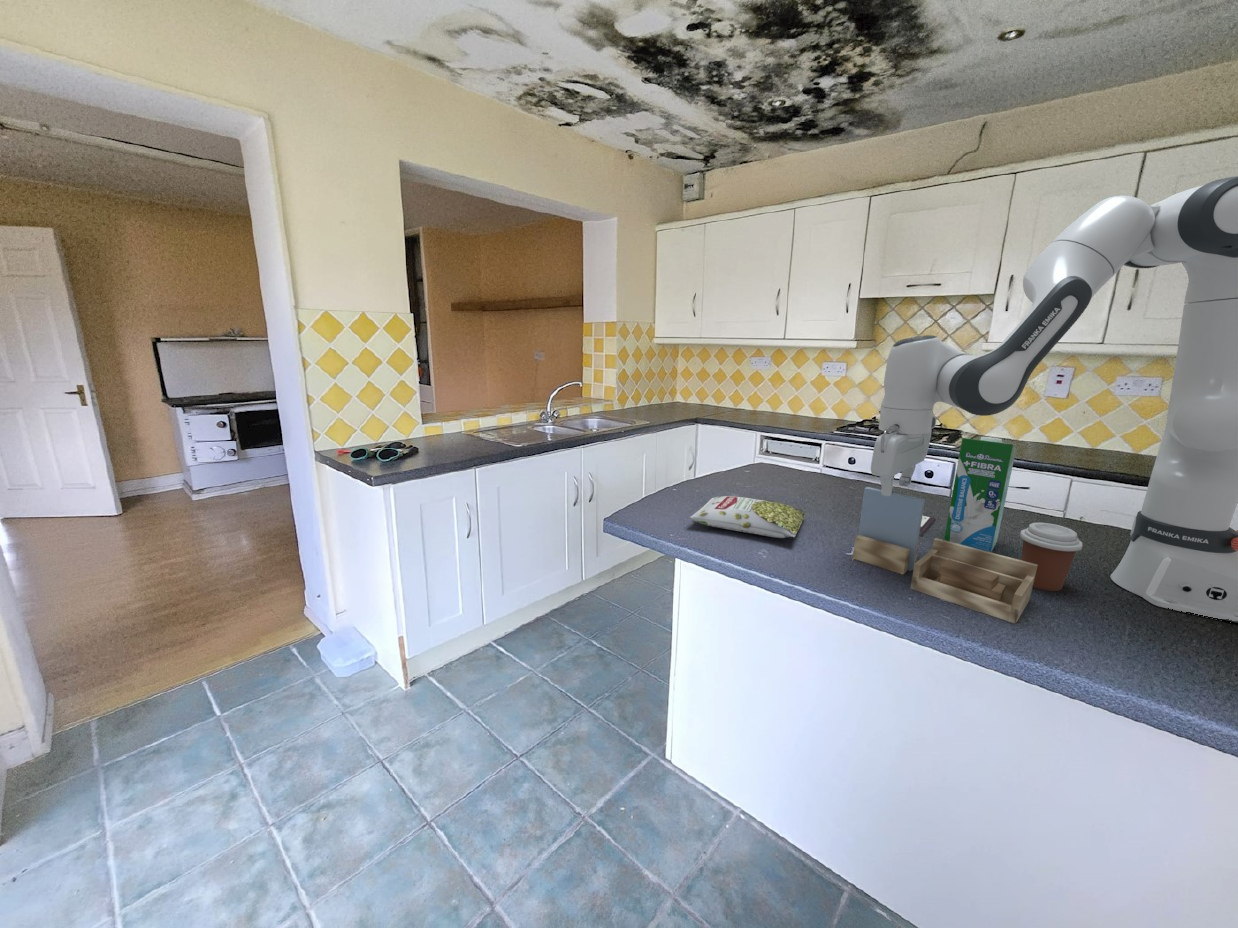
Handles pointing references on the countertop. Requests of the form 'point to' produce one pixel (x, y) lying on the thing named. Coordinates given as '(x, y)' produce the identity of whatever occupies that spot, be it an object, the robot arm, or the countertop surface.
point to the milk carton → (979, 492)
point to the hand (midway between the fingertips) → (896, 490)
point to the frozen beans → (751, 516)
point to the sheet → (892, 519)
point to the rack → (1009, 569)
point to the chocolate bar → (926, 524)
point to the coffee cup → (1049, 553)
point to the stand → (881, 554)
